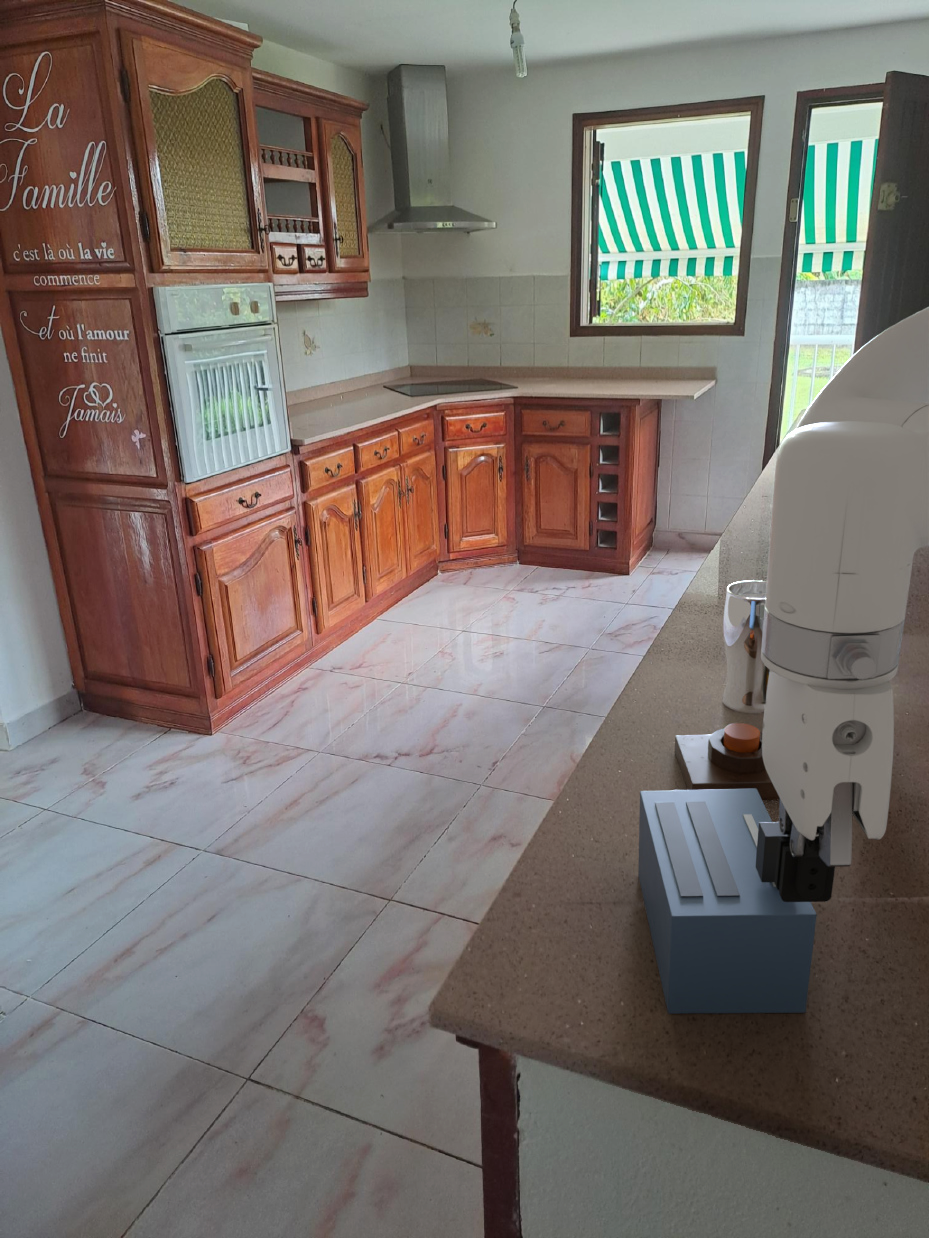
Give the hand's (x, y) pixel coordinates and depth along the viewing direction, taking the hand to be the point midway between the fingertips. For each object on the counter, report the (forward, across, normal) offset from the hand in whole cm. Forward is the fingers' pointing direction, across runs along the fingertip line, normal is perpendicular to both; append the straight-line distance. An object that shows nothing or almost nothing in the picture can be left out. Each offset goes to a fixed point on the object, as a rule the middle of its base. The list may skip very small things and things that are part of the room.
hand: (802, 893), depth 58 cm
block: (+12, +34, -5) cm, 37 cm away
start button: (+9, +34, -5) cm, 36 cm away
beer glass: (+12, +51, -10) cm, 53 cm away
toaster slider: (+3, +6, 0) cm, 7 cm away
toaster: (+12, +10, +3) cm, 16 cm away
